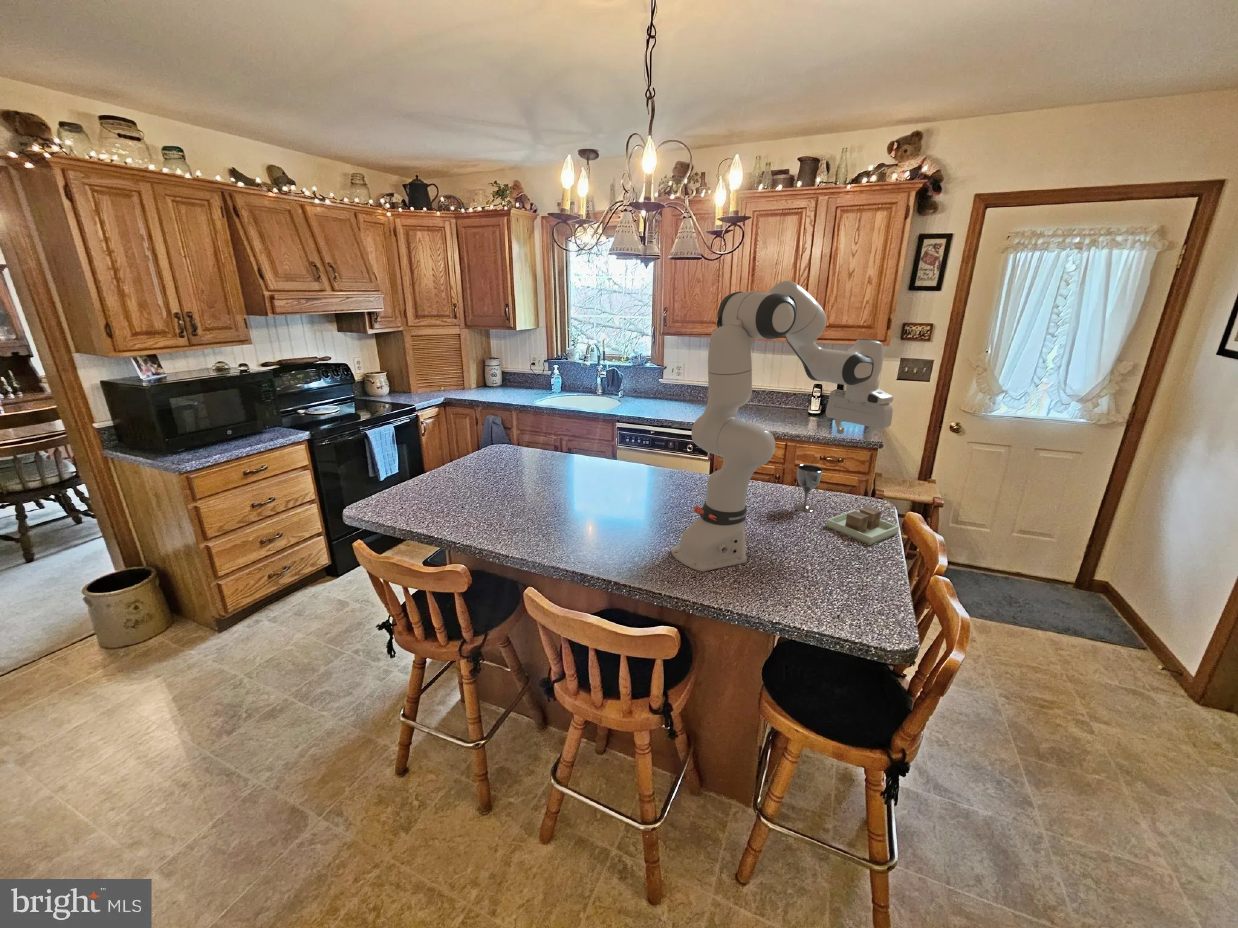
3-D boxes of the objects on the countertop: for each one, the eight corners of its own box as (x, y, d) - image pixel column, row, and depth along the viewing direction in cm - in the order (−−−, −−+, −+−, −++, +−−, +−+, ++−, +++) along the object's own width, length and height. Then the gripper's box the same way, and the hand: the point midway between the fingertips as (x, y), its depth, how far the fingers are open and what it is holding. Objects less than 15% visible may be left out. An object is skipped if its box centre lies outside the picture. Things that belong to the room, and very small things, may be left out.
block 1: (857, 535, 155) (860, 518, 153) (844, 529, 158) (847, 513, 156) (865, 531, 157) (868, 515, 155) (852, 526, 161) (855, 510, 159)
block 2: (870, 529, 158) (873, 514, 157) (857, 524, 162) (860, 509, 160) (878, 526, 161) (881, 511, 159) (865, 521, 164) (868, 506, 162)
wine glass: (818, 513, 171) (824, 472, 167) (794, 511, 173) (799, 470, 168) (814, 504, 179) (820, 465, 174) (791, 502, 180) (796, 463, 175)
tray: (869, 545, 150) (871, 537, 149) (825, 526, 162) (827, 519, 161) (897, 533, 157) (899, 526, 157) (853, 516, 170) (854, 509, 169)
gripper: (824, 389, 159) (818, 430, 163) (886, 399, 143) (878, 446, 147) (836, 387, 162) (830, 428, 167) (898, 397, 146) (890, 443, 150)
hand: (853, 436), depth 157 cm, fingers open, 8 cm apart
